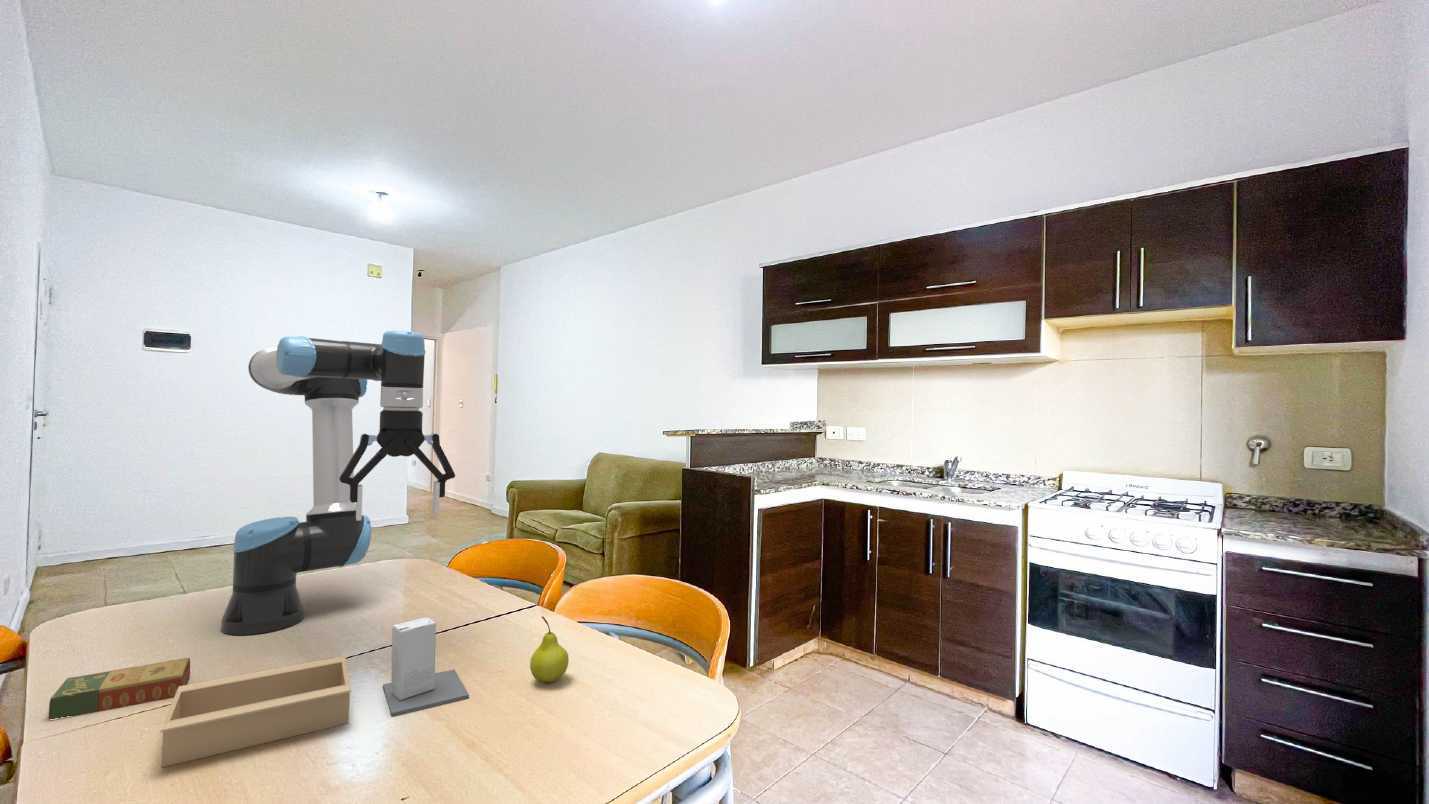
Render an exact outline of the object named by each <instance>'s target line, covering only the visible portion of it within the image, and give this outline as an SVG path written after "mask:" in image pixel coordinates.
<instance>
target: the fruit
mask: <svg viewBox="0 0 1429 804" xmlns="http://www.w3.org/2000/svg"><path fill="white" fill-rule="evenodd" d="M541 618H542V619H543V621H544V623H545V624H546V625H547V627H548V632H546V633H545V634H544V635H543V637H542V641H541V643H540V644H539V646H538V647H537V648H535V651H534V652H533V653H532V656H531V658H530V661H529V663H530V664H529V668H530V672H531V675H532V677H533V678H534V679H535V680H537V682H540V683H542V684H544V685H549V684H553V683H555V682H556V681H558V680H559V679H560V678H561V677H562V676H564V675H565V673H566V672H567V669H568V666H569V662H570V661H569V658H570V657H569V653H568V651H567V650H566V649H565V648H564V647H563V646H562V645H560V644H559V642H558V637H557V636H556V634H555V633H554V632H552V631H551V628H550V625H549V622H548V621H547V619H546V618H545V617H544V615H542V616H541Z"/></svg>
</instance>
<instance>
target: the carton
mask: <svg viewBox="0 0 1429 804" xmlns="http://www.w3.org/2000/svg"><path fill="white" fill-rule="evenodd" d="M190 678H191V659H190V657H186V658H179V659H173V660H167V661H162V662H156V663H151V664H145V665H138V666H132V667H127V668H121V669H115V670H114V669H113V670H109V671H101V672H97V673H92V674H84V675H80V676H73V677H71V676H70V677H66V678H65V680H64V682H63V683H62V684H61V685H60V686H59V688H58V689H57V690H56V692H54V694H53V695H52V696H51V697H50V699H49V704H48V705H49V706H48V720H49V719H55V718H61V717H67V716H73V717H77V716H82V715H88V714H92V713H98V712H99V713H100V712H105V711H109V710H115V709H120V708H125V707H131V706H137V705H141V704H146V703H147V704H148V703H151V702H157V701H162V700H166V699H174V697H175V694H176V692H177V689H178V687H179V686H184V685H188V682H189V680H190Z"/></svg>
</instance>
